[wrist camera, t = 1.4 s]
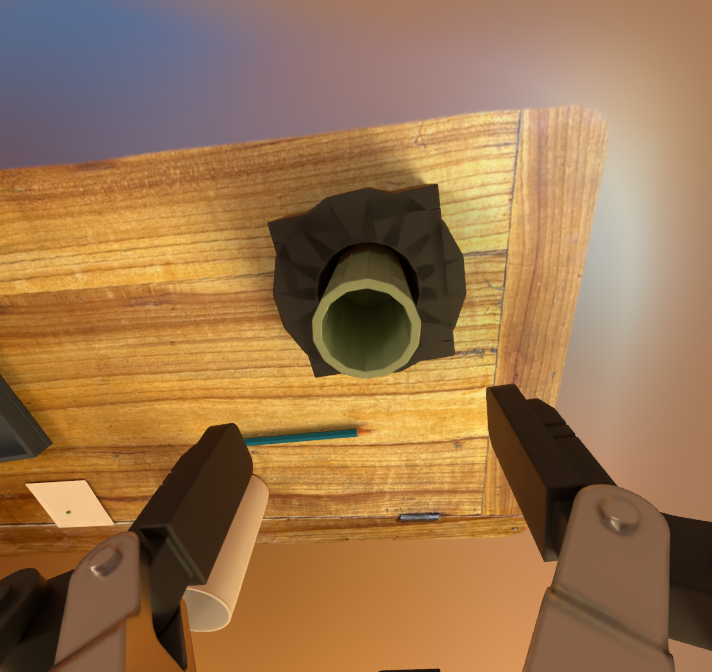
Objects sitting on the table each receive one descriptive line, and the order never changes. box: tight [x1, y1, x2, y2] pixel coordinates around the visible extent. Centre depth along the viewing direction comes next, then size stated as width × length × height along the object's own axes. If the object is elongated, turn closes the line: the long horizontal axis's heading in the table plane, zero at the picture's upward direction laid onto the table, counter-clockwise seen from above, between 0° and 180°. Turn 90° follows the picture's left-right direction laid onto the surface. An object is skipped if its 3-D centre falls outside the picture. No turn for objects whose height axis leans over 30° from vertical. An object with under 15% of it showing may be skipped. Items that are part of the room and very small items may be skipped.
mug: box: [183, 475, 269, 632], centre depth 33 cm, size 10×7×12 cm, turn 104°
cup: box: [312, 243, 421, 379], centre depth 22 cm, size 6×6×11 cm
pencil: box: [243, 429, 374, 446], centre depth 34 cm, size 1×17×1 cm, turn 99°
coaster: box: [26, 480, 114, 528], centre depth 40 cm, size 8×8×1 cm
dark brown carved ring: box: [268, 184, 466, 378], centre depth 25 cm, size 13×13×4 cm
